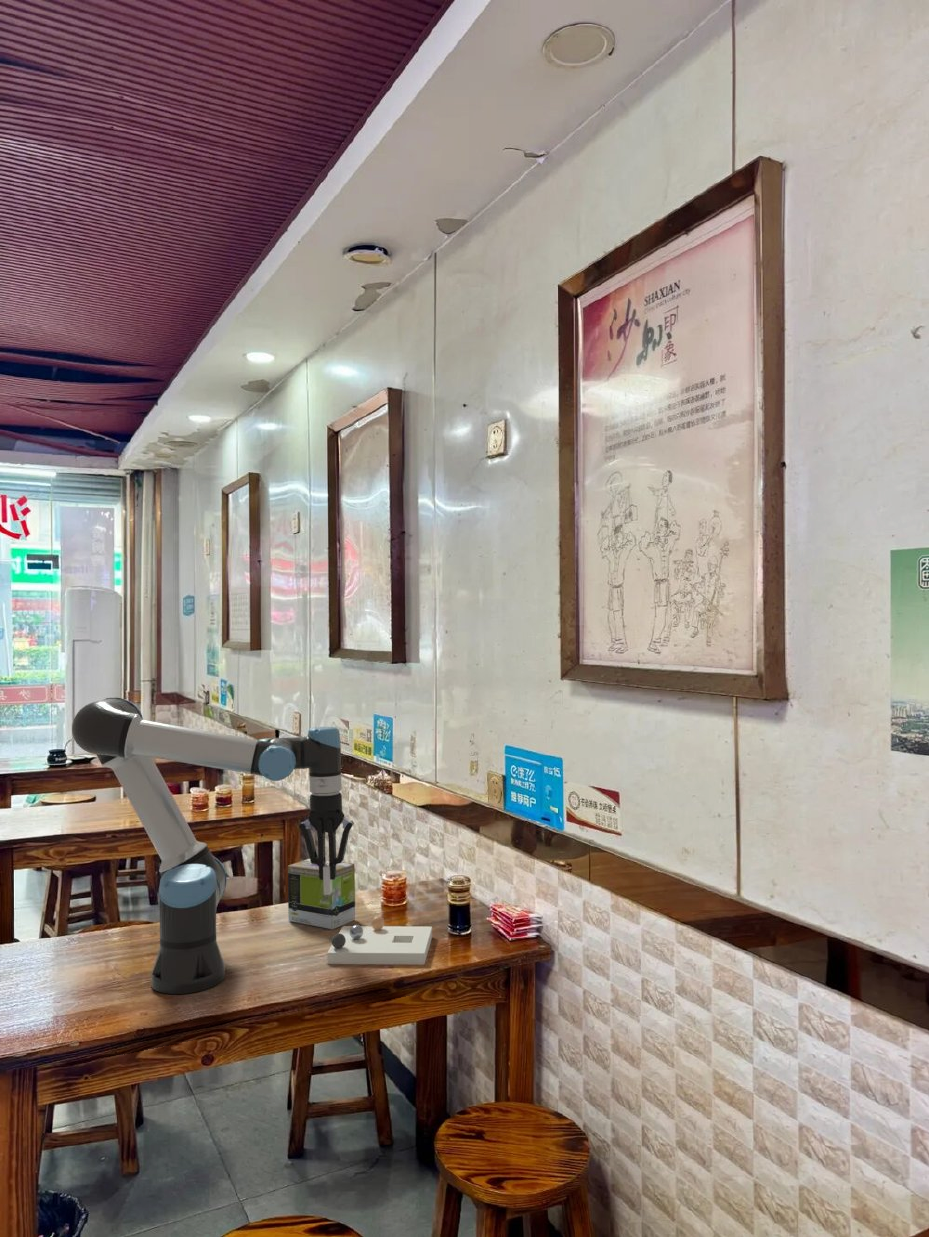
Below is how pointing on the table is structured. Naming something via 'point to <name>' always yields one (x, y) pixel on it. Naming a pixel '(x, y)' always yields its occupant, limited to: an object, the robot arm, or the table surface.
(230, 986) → the table surface
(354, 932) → the steel ball
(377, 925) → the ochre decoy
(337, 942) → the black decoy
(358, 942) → the platform
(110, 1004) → the table surface
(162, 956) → the robot arm
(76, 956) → the table surface
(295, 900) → the tea box
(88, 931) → the table surface
